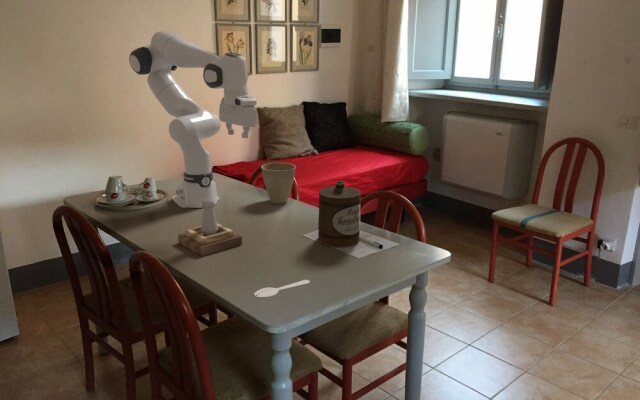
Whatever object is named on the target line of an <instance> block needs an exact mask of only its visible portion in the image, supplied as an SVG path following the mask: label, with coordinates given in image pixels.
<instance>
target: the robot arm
mask: <svg viewBox="0 0 640 400" xmlns="http://www.w3.org/2000/svg"><path fill="white" fill-rule="evenodd" d="M128 58H129V59H128V60H129V64H130V67H131V68H132V69H131V70H133V71H134V72H135V73H136V74H137V75H140V76H142V75H143V76H145V75H148V76H147V78H146V79H147V80H146V81H147V82H146V83H147V85H148V87H149V88H150V90H151V92H152V93H153V95H154V97H155V98H156V99H157V101H158V102H159V103H160V104H161V106H162V107H163V108H164V110H165V112H167V114H168V115H169V116H172V117H174V119H172V120H171V121H170V123H169V125H168V133H169V135H170V138H171V139H172V140H173V141H174V142H176V143H177V144H178V147H180V150H181V152H182V155H183V161H184V172H183V174H182V175H183V181H181V182H180V184H179V185H178V186H177V187H176V189H175V194H176V195H174V196H172V197H171V200H172V201H173V202H174V203H175V204H176V205H178V206H179V208H182V209H183V208H191V209H192V208H193V209H195V208H196V209H197V208H198V209H200V208H201V209H202V208H203V207H202V201H203V200H206V199H211V200H213V201H214V203H215V205H216V204H217V203H218V201H219V200H221V199H220V196H218V193H217V185H216V182H215V181H214V180H213V179H214V174H213V170H212V156H211V153H210V152H209V151H208V150H207V149H206V148H205V147H204V146H203V142H202V140H205V139H208V138H211V137H213V136H215V135H216V134H218V133H219V132H220V130H221V125H222V124H221V122H223V123H225V127H226V129H227V135H231V136H232V135H234V134H235V130H234V129H233V126H232V125H235V126H239V127H240V126H241V127H242V130H243V132H242V133H241V138H242V139H248V138H249V133H250V132H249V131H250V130H251V129H250V128H252V127H253V128H254V127H256V125H257V124H258V123H257V122H258V121H257V120H258V116H257V107H256V105H257V102H258V101H257V99H256V98H255V97H253V96H252V95H250V94H249V88H248V79H249V71H248V65H247V60H246V57H245V56H244V55H242V54H240V53H236V52H235V53H234V52H226V53H224V54H222V56H220V55H218V54H216V53H214V52H212V51H209V50H207V49H204V48H202V47H201V46H198V45H196V44H194V43H192V42H190V41H189V40H187V39H185V38H183V37H181V36H179V35H177V34H176V33H172V32H169V31H165V30H159V31H155V33H154V34H153V35H152V36H151V39H150V44H147V45H144V46H140V47H137V48H136V49H134V50H132V51H131V52H130V54H129V56H128ZM178 68H182V69H183V68H184V69H185V68H187V69H189V68H190V69H191V68H192V69H193V68H195V69H196V68H197V69H198V68H200V69H201V68H202V69H203V72H202V77H203V81H204V83H205V84H206V86H207V87H208V88H210V89H218V90H219V89H223V97H222V98H221V99H220V103H219V109H218V111H219V112H218V115H216V114H215V113H214V112H211V111H209V110H207V109H205V108H204V107H202V106H201V105H199V104H198V103H196V102H195V101H194V100H193V99H192V98H191V97H190V96H189V95H188V94H187V93H186V91H185V90H184V89H183V88H182V86H181V85H180V84H179V83H178V81H177V80H176V79H175V78H174V77H173V75H172V71H173V72H174V71H176V70H177V69H178Z"/></svg>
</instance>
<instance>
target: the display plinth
mask: <svg viewBox="0 0 640 400" xmlns="http://www.w3.org/2000/svg"><path fill="white" fill-rule="evenodd" d="M201 226H202V225H199V226H195V227H189V228H187V229H185V232H184V233H179V234H178V235H177V237H178V238H177V239H178V244H181V246H184V247H186V248H187V249H189V250H190V251H192V252H194V253H195V254H197V255H199V256H200V257H203V256H206V255H210V254H213V253H217V252H221V251H224V250H227V249H230V248H234V247H238V246H241V245H243V236H242V235H240V234H237V233H236V232H235V231H234V230H233V229H231V228H228V227H226V226H225V225H222V224H220V223H219V222H217V226H218V231H217V234H213V235H210V236H206V237H205V236H204V235H203V233H202V231H201Z"/></svg>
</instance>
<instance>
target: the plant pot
mask: <svg viewBox="0 0 640 400" xmlns="http://www.w3.org/2000/svg"><path fill="white" fill-rule="evenodd" d="M261 173H262V178H263V183H264V185H265V189H266V190H265V191H266V192H267V196H268V198H269V201H270V203H272V204H278V205H279V204H285V203H287V202H288V201H289V197H290V195H291V191H292V189H293V184H294V180H295V175H296V174H295V173H296V165H295V164H294V163H293V164H292V163H288V162H270V163H266V164H263V165H261Z"/></svg>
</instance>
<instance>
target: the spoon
mask: <svg viewBox="0 0 640 400" xmlns="http://www.w3.org/2000/svg"><path fill="white" fill-rule="evenodd" d="M310 282H311V281H310V280H309V279H303V280H301V281H296V282H293V283H289V284H286V285H283V286H280V287H272V286H271V287H262V288H260V289H258V290H256V291H255V292H254V294H253V296H254V295H255V296H254V297H256V298H270V297H273V296H275V295H276V296H277V294H279V291H282V290H287V289H291V288H295V287H298V286H303V285H307V284H309V283H310ZM258 294H259V295H258ZM256 295H257V296H256Z"/></svg>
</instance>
